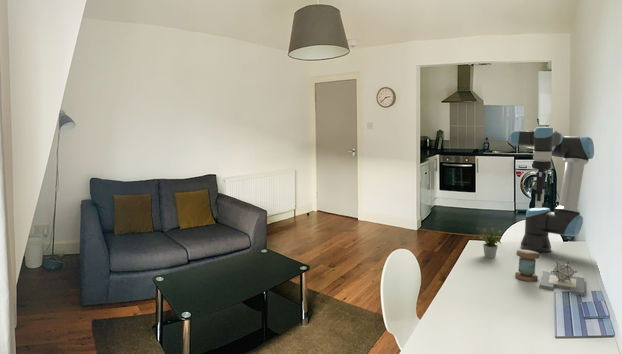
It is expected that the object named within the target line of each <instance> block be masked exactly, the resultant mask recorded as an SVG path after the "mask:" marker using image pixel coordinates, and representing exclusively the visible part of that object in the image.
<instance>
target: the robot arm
mask: <svg viewBox="0 0 622 354" xmlns="http://www.w3.org/2000/svg"><path fill="white" fill-rule="evenodd" d="M509 136H510V137H509V143H510V144H511V145H512V146H517V147H519V146H521V147H525V148H529V149H533V153H531V156H532V159H533V160H532V169H534V170H538V171H537V172H536V174H535V177H536V178H535V181H536V187H535V191H534V192H533V193H534V194H535V201H534V202H535V203H534V204H535V205H534V207H532V208H528V209H527V210H526V212H525V213H526V214H525V224H524V235H523V237H522V239H521V241H520V248H521V250H531V251H535V252H538V253H549V251H550V252H551V250H552V245H551V241H550V238H549V234H555V235H559V236H565V237H576V236H578V235H579V234H580V232H581V230H582V228H583V225H584V223H583V222H584V218H583V216H582V215H580V214H581V211H579V209H578V205H579V201H580V200H579V199H580V193H581V187H582V181H583V176H584V170H585V169H584V168H585V165H586V164H588V163H589V160H591V159H593V158H594V156H595V145H594V140H593V139H592V138H591V137H589V136H581V135H580V136H578V135H575V136H570V135H569V136H568V135H567V136H566V135H565V136H564V135H563V134H562V133H561V132H560V131H558V130H554V128H553V127H551V126H541V127H540V126H539V127H538V126H537V127H535V128H534V130H513V131H511V133H510V135H509ZM552 157H556V158H562V161H563V162H564V163H565V166H564V172H563V178H562V184H561V188H560V189H561V190H560V196H559V202H558V206H556V207H554V209H553V210H554V211H551V208H549V207H543V204H544V201H545V190H547V186H545V184H546V183H545V181H546V178H547V172H546V170H551V168H552V161H551V160H552V159H553V158H552Z"/></svg>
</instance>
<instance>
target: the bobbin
mask: <svg viewBox="0 0 622 354" xmlns="http://www.w3.org/2000/svg"><path fill="white" fill-rule="evenodd" d="M515 254H516V256H518V257H519V258H518V259H519V260H518V270H517V272H515V274H514V277H515V279H517V280H519V281H521V282H525V283H526V282H527V283H534V282H537V281H538V278H539V277H538V275H537V274H536V260H537V259H539V258H540V252H535V251H531V250H525V249H518V250H516V253H515Z"/></svg>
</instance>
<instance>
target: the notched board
mask: <svg viewBox="0 0 622 354" xmlns="http://www.w3.org/2000/svg"><path fill="white" fill-rule="evenodd" d="M558 280H559V279H558V278H557V277H556V276H555V274H554V273H553V272H551V271H544V270H543V271H542V275H541V278H540V281H539V288H538V289H541V290H548V291H553V290H554V289H560V290H564V291H569V294H570V293H571V294H570V295H573V294H575V295H574V296H578V295H584V296H585V277H580V276H575V275H573V276H572V278H571V279H570V280H571V282H570V281H569V280H560V281H559V282H558Z"/></svg>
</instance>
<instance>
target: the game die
mask: <svg viewBox="0 0 622 354" xmlns="http://www.w3.org/2000/svg"><path fill="white" fill-rule="evenodd" d="M569 262H570V261H569ZM569 262H568V261H567V263H559V262H557V261H555V263H556V265H555V267H554V268H553V270H552V271H550V272H552V273H554V274H555V276H556V277H557V278H558V279H559V280H558V282H559V281H560V280H569V281H570V282H571V280H570V279H571V278H572V276H574V274H575V273H577V271H576V270H574V269H573V268H572V267H571V266H570V264H569Z"/></svg>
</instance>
